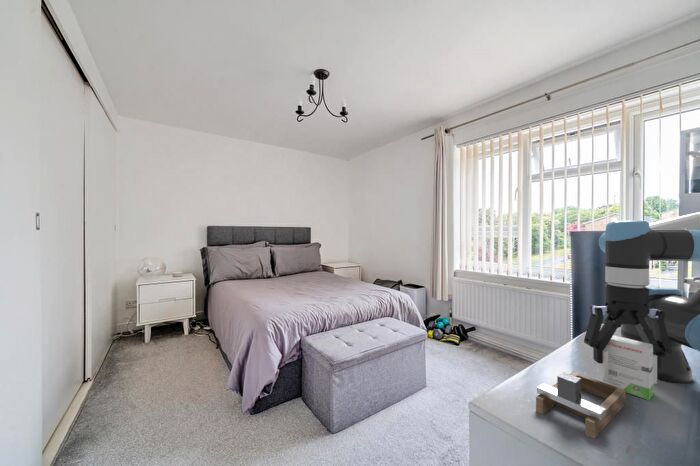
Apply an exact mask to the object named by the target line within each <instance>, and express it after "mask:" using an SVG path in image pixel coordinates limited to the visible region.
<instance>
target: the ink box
mask: <svg viewBox="0 0 700 466" xmlns="http://www.w3.org/2000/svg"><path fill="white" fill-rule="evenodd" d="M604 350H606V351H608V379H604V378H603V377H601V376H600V375H599V376H600V377H599V378H600V380H599V381H601V382H604V383H607V384H610V385H612V386H615V387H618V388H621V389H624V390H626V394H630V395H632V396H635V397H638V398H641V399H644V400H647V401H650V400H651V399H652V397H653V395H655V391H654V390H655V389H654V387H655V386H654V382H653V345H652V344H649V343H644V342H640V341H636V340H631V339H627V338H623V337H620V336H618V335H615V334H614V335H613V336H612V338H611V339H610V341H609V343H608V344H607V346H606V347H605V349H604Z"/></svg>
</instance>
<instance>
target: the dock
mask: <svg viewBox="0 0 700 466" xmlns="http://www.w3.org/2000/svg"><path fill="white" fill-rule="evenodd" d="M569 374H570V375H573V376H576V377H578V378H581V391H584V392H587V393H591V394H593V395H595V396H598V397H601V398H603V399H605V400H603V401H602V402H601V404H599V406H601V407H603V408H606V415H605V416H604V417H603V418H602V419H601V421H600V420H598V419H595V418H593V417H591V416H589V415H586V414H584V413H582V412H579V411H577V410H575V409H573V408H570V407H568V406H566V405H563V404H561V403H559V402H557V401H554V400H552V399H550V398H548V397H545V396H543V395H541V394H538V395H537V396H535V412H537V413H539V414H541V415H544V414H545V413H547V411H549V410H550V409H552V408H553V407H554V406H558V407H560V408H561V409H564V410H567V411H569V412H571V413H574V414H575V415H578V416H579V417H583V418H585V420H584V421H585V422H584V423H585V424H584V428H585V429H584V432H585V433H584V434H585V436H587V437H590V438H592V439H595V438H596V437H597V436H598V435H599V434H600V433H601V432H602V431H603V429H605V427H607V425H608V424H609V423H610V422H611V421H612V419H613V418H614V417H615V416H616V415H617V414H618V413H619V412H620V411H621V410H622V409H623V407H624V406H625V405H626V404H627V403H626V402H627V401H626V400H627V399H626V398H627V397H626V396H627V393H626V390H624V389H621V388H618V387H615V386H612V385H610V384H607V383H604V382H601V381H600V380H597V379H596V378H595V379H594V378H592V377H589V376H586V375H583V374H580V373H578V372H574V371H573V372H571V373H569ZM551 386H552V387H554V388H556V389H557V382H556V383H555V384H553V385H551Z"/></svg>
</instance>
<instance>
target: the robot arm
mask: <svg viewBox="0 0 700 466" xmlns="http://www.w3.org/2000/svg"><path fill="white" fill-rule="evenodd" d="M598 246H599V248H600V250H601V251H602V252H603V253H604V261H605V263H604V265H605V269H604V270H605V271H604V275H605V276H604V279H605V282H606V284H605V285H604V297H605V303H604V305H600V306H599V305H598V306H597V305H594V304H592V305H590V308H589V309H590V317H589V321H588V326H587V328H586V332H585V335H584V339H583V343H584V344H586V345H588V346H589V347H590V348H592V349H593V351H592V353H593V356H592V358H593V360H594V362H596V374H597V375H598V376H601V377H603V378H604V379H608V351H606V350H604V349H605V347H606V346H607V344H608V343H609V341H610V339H611V338H612V336H613V335H614V336H615V333H616V332H617V330H618V328H620V336H619V337H623V338H627V339H631V340H636V341H640V342H644V343H649V344H652V345H653V382H654V384H655V385H658V380H659V381H662V382H671V383H681V384H682V383H683V384H685V383H690V382H692V380H693V371H692V369H691V366H690V364H689V361H688V359H687V356H686V355H685V353H684V350H683V346H684V347H687V348H691V349H692V350H695V351H697V352H699V353H700V289H698V290H697V291H696V292H694V293H693V294H692V295H691V296H689V297H685V296H683V295H684V294H683V293H682V290H681V289H678V288H669V287H668V288H666V287H650V286H649V285H650V261H652V262H653V261H661V262H662V261H663V262H667V261H668V262H685V263H688V262H696V261H697V262H698V261H700V211H698V212H695V213H694V212H693V213H689V214H685V215H681V216H677V217H673V218H668V219H663V220H660V221H656V222H651V223H649V221H647V220H615V221H609V222H608V223H607V224H606V226H605V231H604V232H603V233H602V234H601V235H600V236H599V239H598ZM648 286H649V287H648ZM606 313H607V316H606V317H605V319H604V316H605V315H606ZM603 320H604V321H603ZM603 322H604V324H603ZM602 324H603V325H602Z"/></svg>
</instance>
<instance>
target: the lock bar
mask: <svg viewBox="0 0 700 466" xmlns="http://www.w3.org/2000/svg"><path fill="white" fill-rule="evenodd" d="M570 374H571V373H567V372H562V373H560V374H558V375H557V377H556V378H557V380H556V383H557V389H556V388H554V387H552V386H553V385H549V384H546V383H541V384H540V385H538V386H536V393H537V394H538V395H540V394H541V395H543V396H545V397H548V398H550V399H552V400H554V401H557V402H559V403H561V404H563V405H566V406H568V407H570V408H573V409H575V410H577V411H579V412H582V413H584V414H586V415H589V416H591V417H593V418H595V419H598V420H600V421H601V419H602V418H603V417H604V416H605V415H606V408H603V407H601V406H600V405H599V404H596V403H593V402H591V401H589V400H586V399H583V398H582V389H581V378H578V377H576V376H573V375H570Z"/></svg>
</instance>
